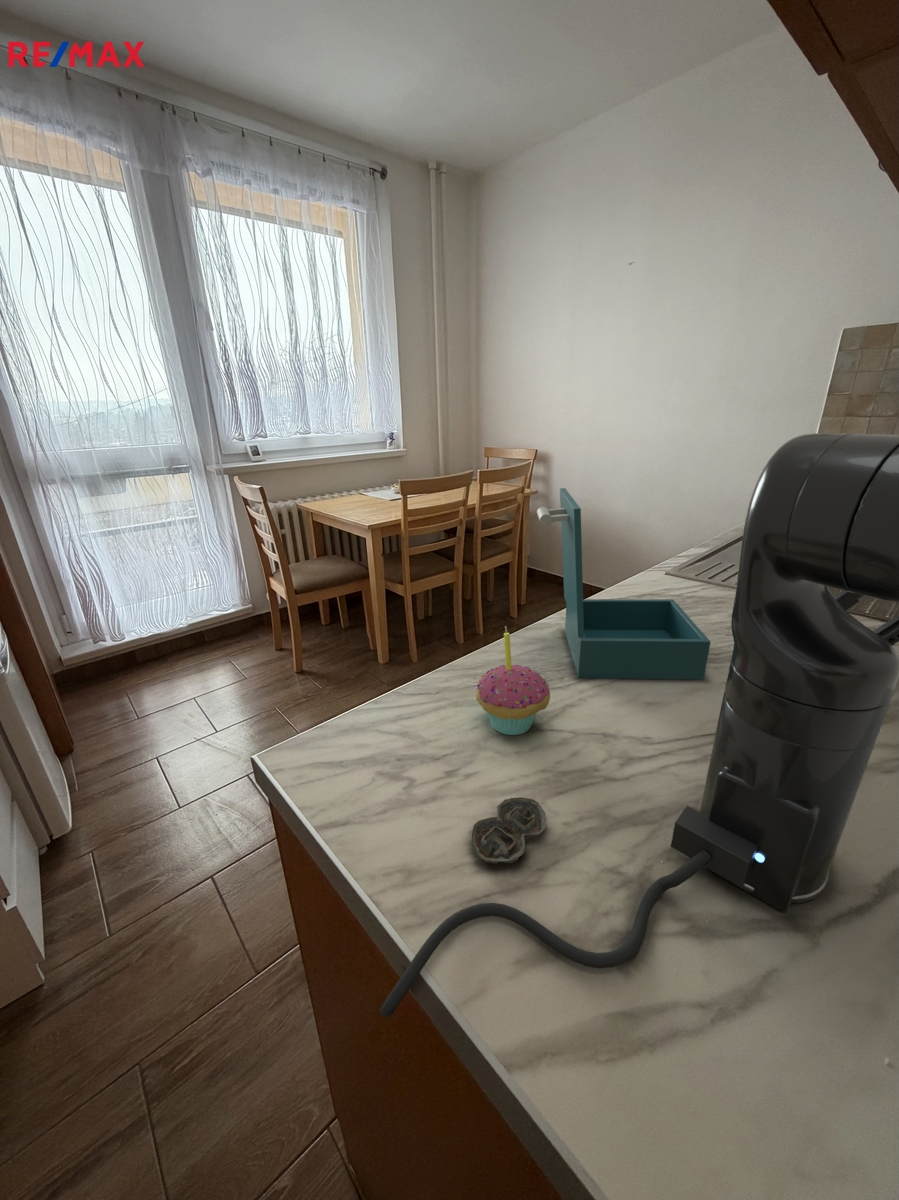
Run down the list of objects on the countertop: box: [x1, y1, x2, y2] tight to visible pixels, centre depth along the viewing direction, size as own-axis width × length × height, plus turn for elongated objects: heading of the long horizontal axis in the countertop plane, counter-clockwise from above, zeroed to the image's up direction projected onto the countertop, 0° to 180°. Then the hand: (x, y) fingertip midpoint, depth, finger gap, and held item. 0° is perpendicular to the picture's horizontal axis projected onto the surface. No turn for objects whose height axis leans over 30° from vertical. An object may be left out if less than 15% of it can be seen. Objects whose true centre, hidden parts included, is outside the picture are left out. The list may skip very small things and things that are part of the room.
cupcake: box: [475, 625, 551, 736], centre depth 56 cm, size 9×8×12 cm
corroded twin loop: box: [471, 796, 547, 864], centre depth 43 cm, size 5×8×1 cm, turn 135°
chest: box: [564, 598, 711, 681], centre depth 71 cm, size 17×15×6 cm
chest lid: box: [536, 487, 584, 638], centre depth 68 cm, size 17×15×5 cm
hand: (847, 627), depth 59 cm, fingers open, 8 cm apart
